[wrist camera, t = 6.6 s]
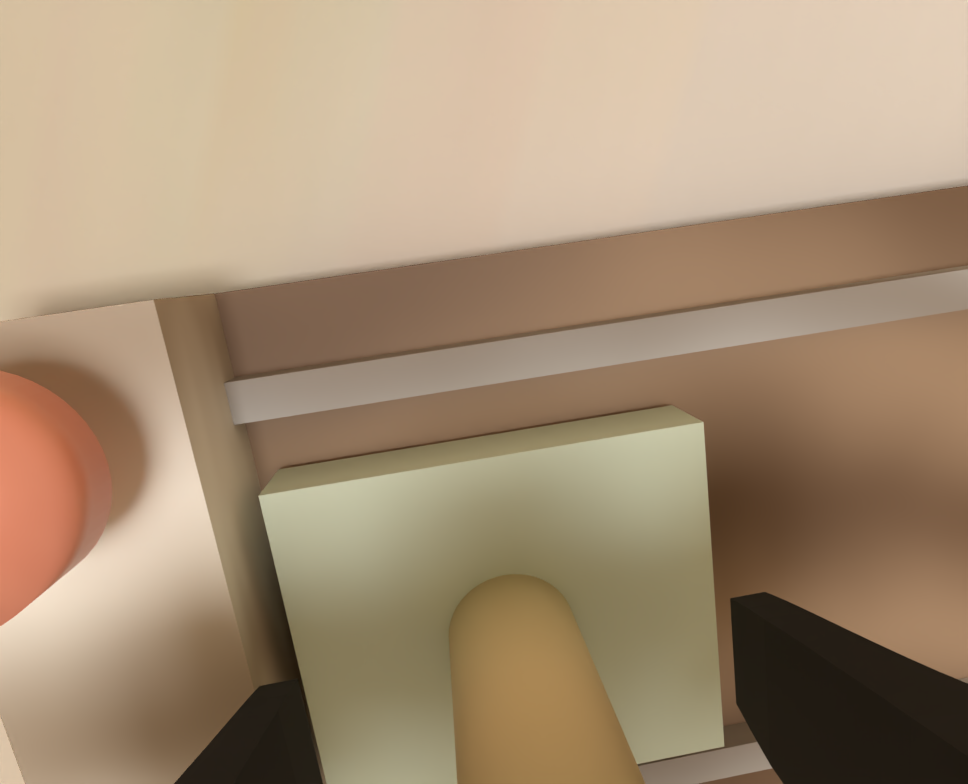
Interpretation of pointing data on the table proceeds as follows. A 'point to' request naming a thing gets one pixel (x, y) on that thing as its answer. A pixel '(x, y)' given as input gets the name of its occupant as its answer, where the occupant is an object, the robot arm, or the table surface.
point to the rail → (498, 409)
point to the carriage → (505, 603)
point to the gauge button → (45, 491)
